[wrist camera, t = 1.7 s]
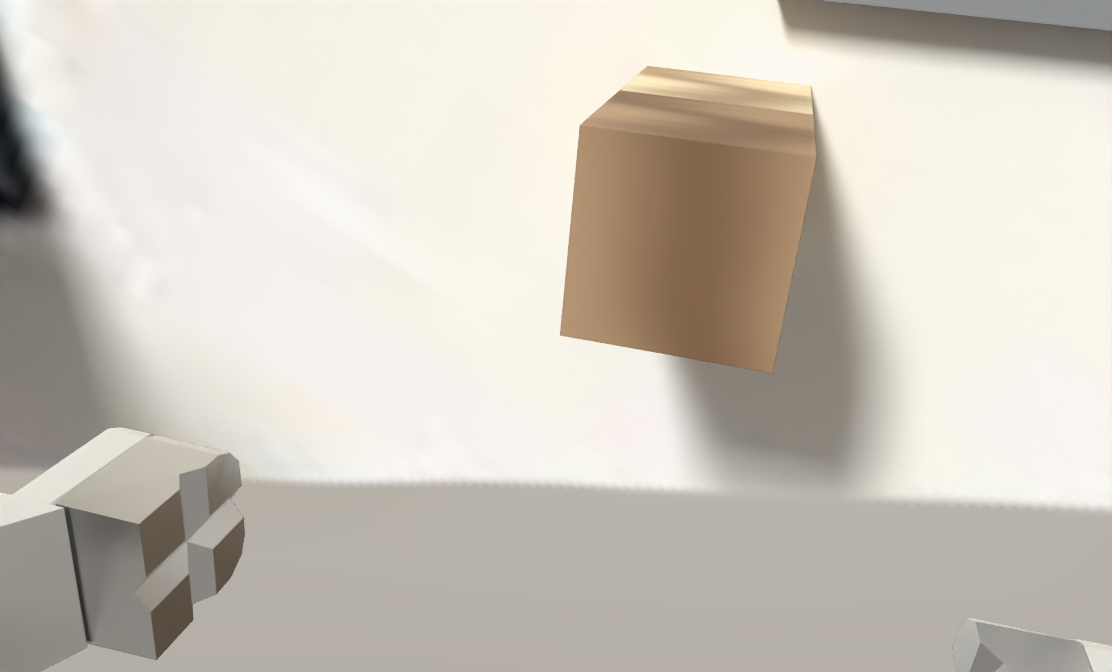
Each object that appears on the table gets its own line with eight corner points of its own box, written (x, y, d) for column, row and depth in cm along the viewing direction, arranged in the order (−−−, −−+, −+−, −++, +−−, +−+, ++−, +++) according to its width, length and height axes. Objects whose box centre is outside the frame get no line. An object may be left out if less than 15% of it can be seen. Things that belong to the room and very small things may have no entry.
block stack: (628, 219, 31) (560, 335, 22) (647, 66, 29) (579, 125, 20) (779, 242, 30) (772, 373, 21) (810, 85, 28) (816, 157, 19)
